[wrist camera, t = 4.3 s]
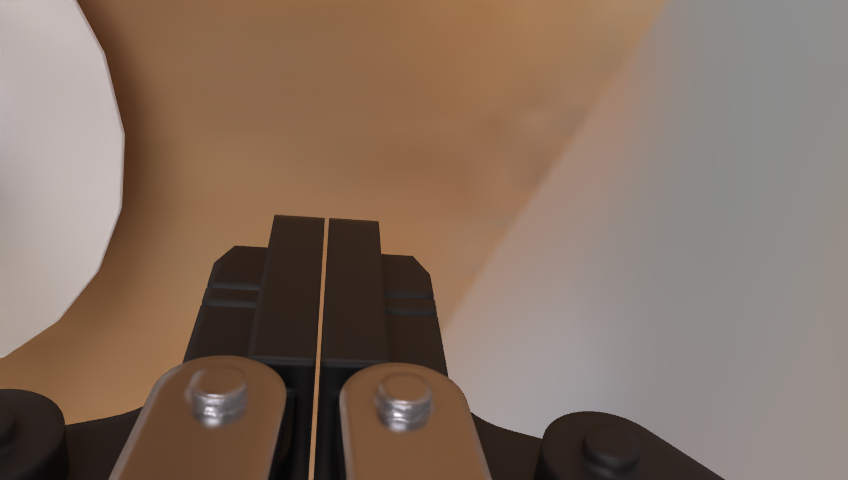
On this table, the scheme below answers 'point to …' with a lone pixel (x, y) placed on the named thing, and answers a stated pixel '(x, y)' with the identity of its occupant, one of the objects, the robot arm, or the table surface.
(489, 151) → the table surface
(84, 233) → the teacup
